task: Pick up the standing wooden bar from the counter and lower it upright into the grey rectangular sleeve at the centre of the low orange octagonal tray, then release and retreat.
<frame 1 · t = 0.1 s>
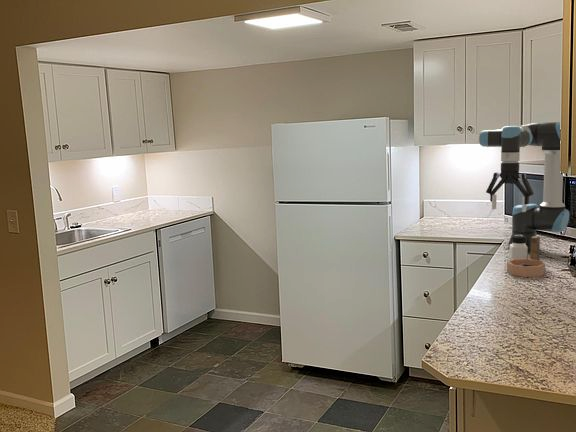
hand: (508, 210, 260), 28 cm above the worktop, fingers open, 13 cm apart
wooden bar: (534, 266, 271), on the worktop
grey rectangular sleeve: (525, 268, 262), in the orange octagonal tray, point 1 cm above the worktop
medicine bottle: (518, 260, 285), on the worktop
orange octagonal tray: (525, 272, 262), on the worktop
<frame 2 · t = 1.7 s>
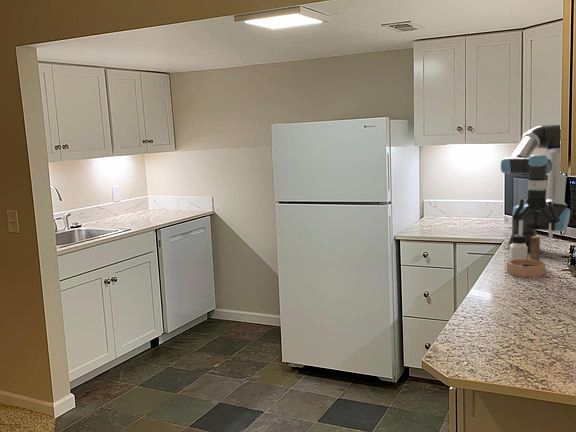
hand: (535, 235, 269), 15 cm above the worktop, fingers open, 13 cm apart
nothing on the worktop moved.
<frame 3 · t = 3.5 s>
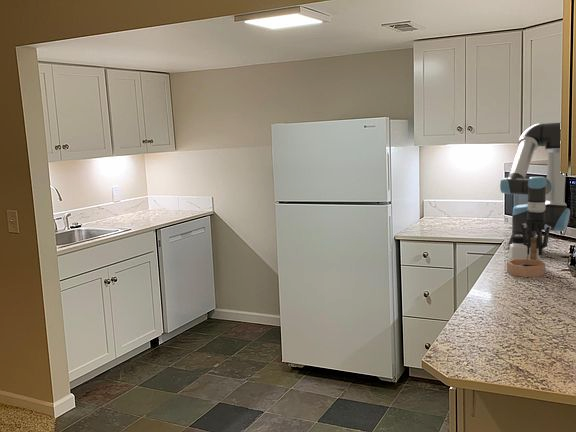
hand: (534, 261, 271), 3 cm above the worktop, fingers closed on wooden bar, 2 cm apart
wooden bar: (534, 266, 271), on the worktop, touching gripper
everything else where it was.
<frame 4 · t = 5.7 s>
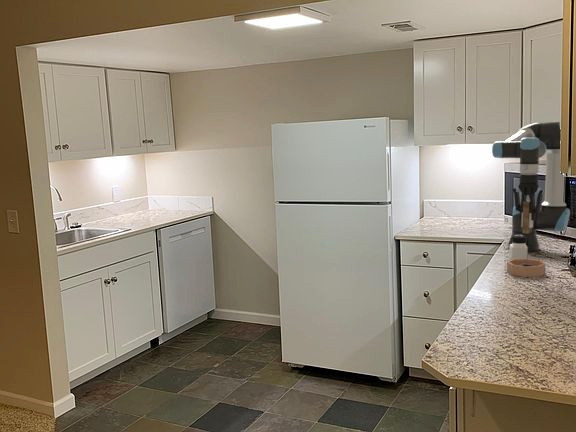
hand: (527, 227, 259), 20 cm above the worktop, fingers closed on wooden bar, 2 cm apart
wooden bar: (526, 232, 259), point 18 cm above the worktop, touching gripper
everything else where it was.
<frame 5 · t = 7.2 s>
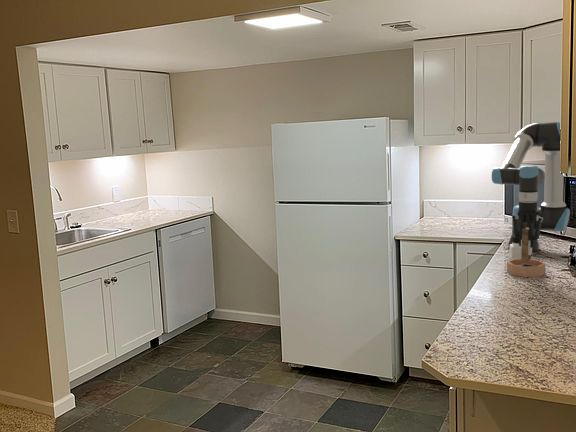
hand: (526, 254, 261), 8 cm above the worktop, fingers closed on wooden bar, 2 cm apart
wooden bar: (526, 259, 261), point 6 cm above the worktop, touching gripper
everything else where it was.
when the fingers open (5 cm above the worktop, at t = 8.1 s): wooden bar drops 1 cm, resting on orange octagonal tray.
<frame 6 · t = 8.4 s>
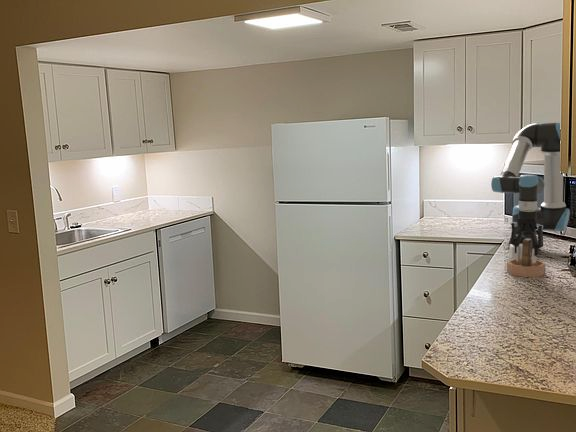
hand: (526, 261, 262), 5 cm above the worktop, fingers open, 6 cm apart
wooden bar: (525, 270, 262), point 1 cm above the worktop, touching orange octagonal tray
everything else where it was.
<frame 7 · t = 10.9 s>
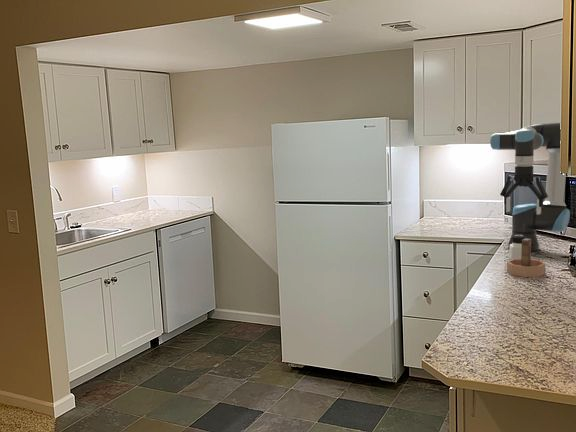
hand: (523, 212, 264), 26 cm above the worktop, fingers open, 13 cm apart
nothing on the worktop moved.
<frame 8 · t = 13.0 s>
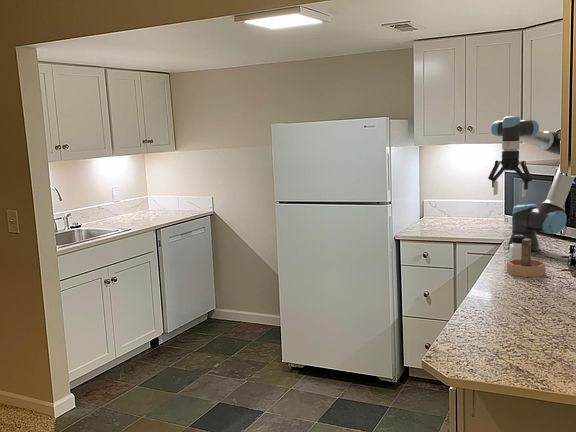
hand: (509, 195, 278), 32 cm above the worktop, fingers open, 13 cm apart
nothing on the worktop moved.
at the end: wooden bar 0.1 cm off-centre on the orange octagonal tray, point 1.0 cm above the orange octagonal tray's base; wooden bar tilted 0°; the gripper is holding nothing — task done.
